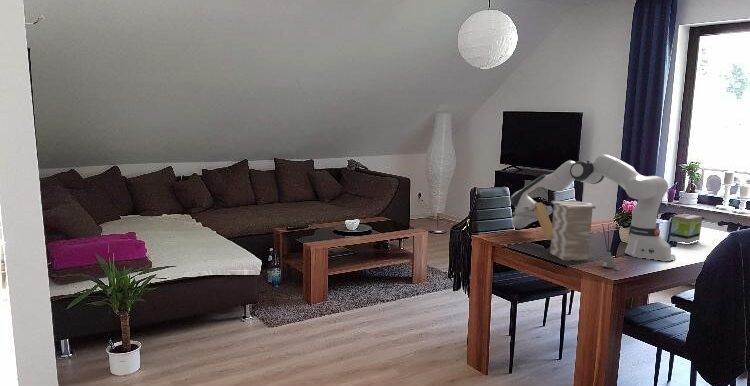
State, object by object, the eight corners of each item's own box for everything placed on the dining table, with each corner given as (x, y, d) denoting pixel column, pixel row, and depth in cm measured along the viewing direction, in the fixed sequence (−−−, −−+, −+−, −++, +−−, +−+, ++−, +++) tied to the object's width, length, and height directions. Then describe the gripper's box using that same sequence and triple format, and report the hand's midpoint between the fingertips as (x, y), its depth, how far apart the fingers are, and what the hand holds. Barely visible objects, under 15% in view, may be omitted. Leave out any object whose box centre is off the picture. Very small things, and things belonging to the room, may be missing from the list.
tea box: (688, 245, 298) (691, 218, 296) (668, 242, 306) (671, 215, 303) (699, 242, 308) (702, 215, 305) (680, 238, 315) (683, 212, 313)
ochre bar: (532, 207, 301) (535, 202, 299) (539, 207, 302) (542, 202, 299) (546, 239, 287) (549, 234, 284) (553, 239, 288) (556, 234, 285)
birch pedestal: (547, 252, 276) (551, 200, 272) (573, 251, 279) (577, 200, 275) (564, 261, 261) (568, 206, 257) (591, 260, 263) (595, 206, 259)
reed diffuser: (595, 266, 254) (599, 223, 251) (603, 263, 258) (607, 221, 255) (616, 271, 246) (621, 227, 243) (624, 269, 250) (628, 225, 247)
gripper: (510, 209, 310) (520, 200, 297) (544, 208, 314) (555, 200, 301) (512, 220, 308) (522, 211, 295) (546, 219, 311) (558, 211, 299)
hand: (539, 206), depth 298 cm, fingers closed on ochre bar, 4 cm apart
